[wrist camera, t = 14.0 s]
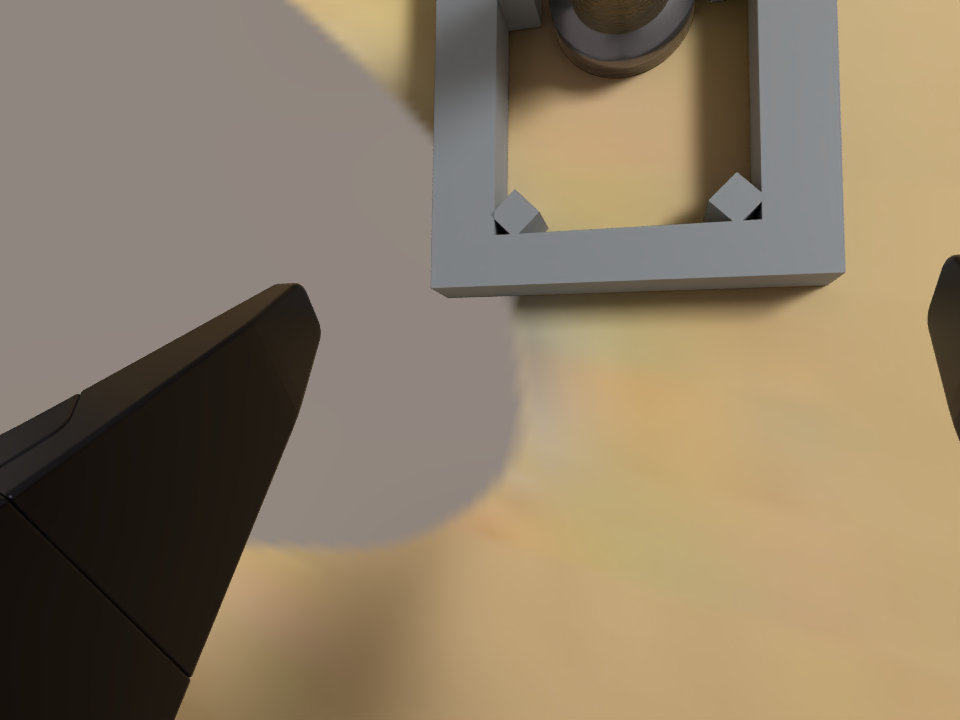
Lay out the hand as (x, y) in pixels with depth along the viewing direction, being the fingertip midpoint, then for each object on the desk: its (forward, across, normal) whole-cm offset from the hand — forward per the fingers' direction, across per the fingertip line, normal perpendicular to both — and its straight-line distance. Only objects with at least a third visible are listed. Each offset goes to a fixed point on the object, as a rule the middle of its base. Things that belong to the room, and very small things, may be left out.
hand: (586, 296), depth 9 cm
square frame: (+17, 0, +2) cm, 17 cm away
